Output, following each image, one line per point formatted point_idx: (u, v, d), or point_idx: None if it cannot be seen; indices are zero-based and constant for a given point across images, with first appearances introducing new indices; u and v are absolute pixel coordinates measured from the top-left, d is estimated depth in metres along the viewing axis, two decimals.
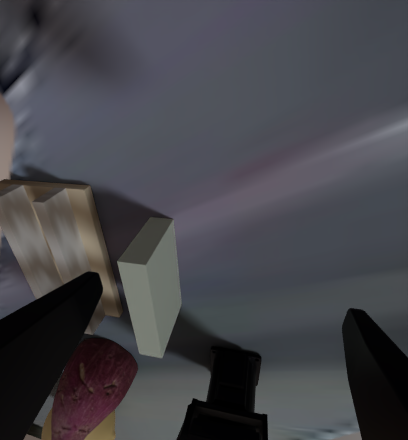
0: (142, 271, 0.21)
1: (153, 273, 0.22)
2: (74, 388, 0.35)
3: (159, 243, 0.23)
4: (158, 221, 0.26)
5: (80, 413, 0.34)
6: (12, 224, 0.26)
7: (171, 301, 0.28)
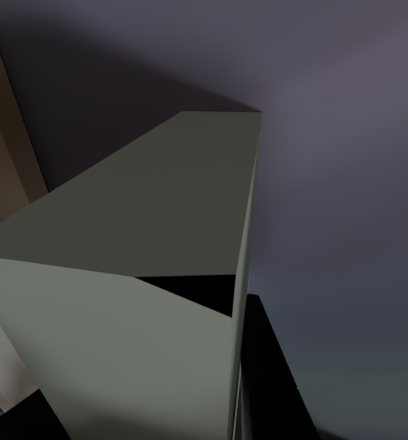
0: (189, 345, 0.02)
1: (237, 331, 0.04)
2: None
3: (254, 161, 0.04)
4: (213, 116, 0.07)
5: None
6: None
7: None
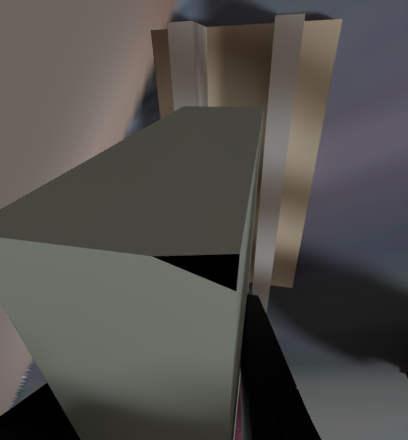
0: (193, 326, 0.02)
1: (240, 318, 0.04)
2: None
3: (257, 150, 0.04)
4: (214, 111, 0.07)
5: None
6: (196, 90, 0.14)
7: None
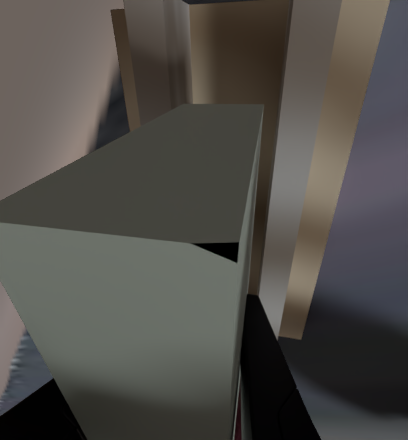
0: (194, 311, 0.02)
1: (240, 307, 0.04)
2: None
3: None
4: (214, 108, 0.07)
5: None
6: (172, 98, 0.09)
7: None
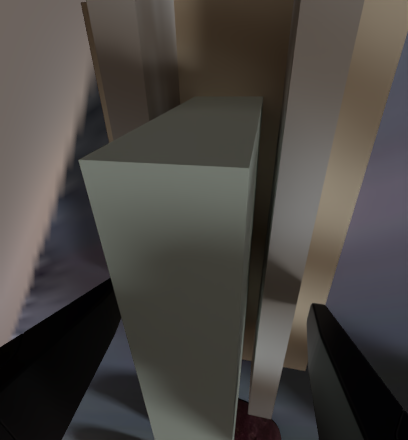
0: (221, 215, 0.04)
1: (247, 236, 0.05)
2: None
3: (258, 123, 0.06)
4: (222, 99, 0.09)
5: None
6: (151, 110, 0.08)
7: None
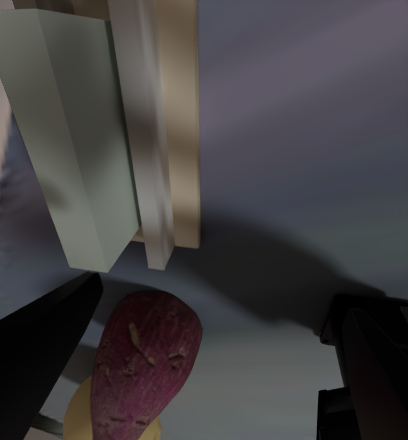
0: (34, 34, 0.10)
1: (67, 64, 0.11)
2: (125, 358, 0.23)
3: (86, 19, 0.12)
4: None
5: (137, 395, 0.22)
6: None
7: (126, 184, 0.17)
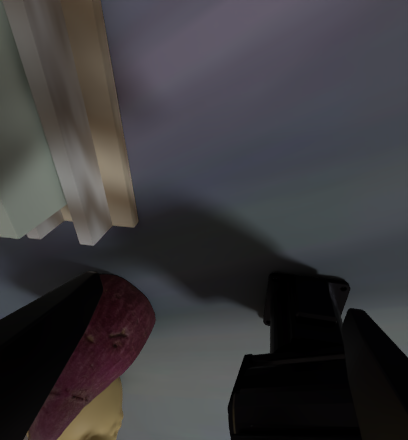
0: None
1: None
2: None
3: None
4: None
5: (74, 370, 0.23)
6: None
7: (43, 158, 0.18)
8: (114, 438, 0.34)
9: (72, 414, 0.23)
